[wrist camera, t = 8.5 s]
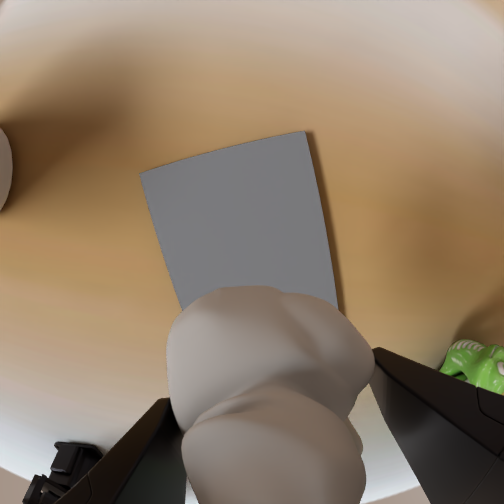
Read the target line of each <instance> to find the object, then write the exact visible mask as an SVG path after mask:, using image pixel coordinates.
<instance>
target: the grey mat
mask: <svg viewBox="0 0 504 504" xmlns="http://www.w3.org/2000/svg"><path fill="white" fill-rule="evenodd" d="M139 175H140V178H141V182H142V186H143V190H144V193H145V197H146V200H147V204H148V208H149V211H150V214H151V218H152V221H153V225H154V228H155V231H156V234H157V238H158V241H159V244H160V247H161V250H162V253H163V256H164V260H165V263H166V266H167V269H168V272H169V274H170V277H171V280H172V283H173V286H174V289H175V292H176V295H177V297H178V300H179V303H180V306H181V308H182V311H183V310H184V309H186V308H187V307H188V306H189V305H190V304H192V303H193V302H194V301H195V300H197V299H198V298H200V297H202V296H204V295H206V294H208V293H211V292H213V291H214V290H216V289H218V288H224V287H237V286H254V285H263V286H271V287H274V288H277V289H279V290H280V291H281V292H283V293H302V294H307V295H310V296H314V297H317V298H320V299H323V300H325V301H327V302H329V303H330V304H332V305H333V306H334V307H335V308H337V309H338V303H337V296H336V289H335V282H334V275H333V269H332V263H331V256H330V250H329V245H328V239H327V233H326V228H325V222H324V217H323V212H322V206H321V201H320V196H319V192H318V187H317V182H316V177H315V173H314V168H313V164H312V159H311V155H310V151H309V146H308V142H307V138H306V134H305V131H301V132H296V133H290V134H285V135H280V136H275V137H271V138H266V139H261V140H257V141H253V142H248V143H244V144H240V145H236V146H232V147H228V148H224V149H220V150H216V151H212V152H208V153H205V154H201V155H198V156H194V157H190V158H187V159H184V160H180V161H177V162H174V163H170V164H167V165H164V166H161V167H158V168H154V169H151V170H148V171H145V172H142V173H139Z"/></svg>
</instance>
